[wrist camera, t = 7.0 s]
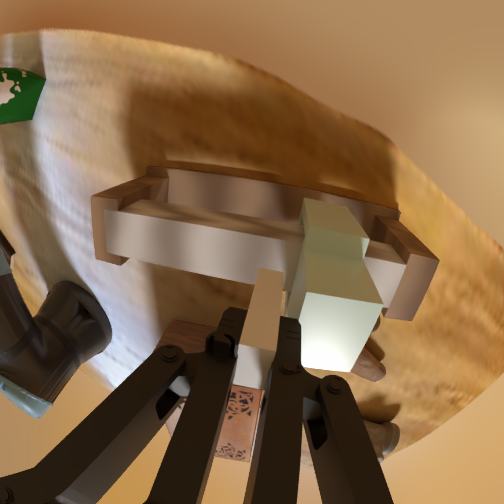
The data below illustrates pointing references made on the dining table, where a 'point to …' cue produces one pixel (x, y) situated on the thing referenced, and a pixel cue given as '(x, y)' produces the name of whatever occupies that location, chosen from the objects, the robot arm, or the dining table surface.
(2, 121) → the milk carton
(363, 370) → the pipe
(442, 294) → the dining table surface
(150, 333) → the dining table surface
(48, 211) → the dining table surface
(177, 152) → the dining table surface
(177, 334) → the tissue box cover
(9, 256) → the hardcover book
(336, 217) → the pale green slider block
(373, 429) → the pipe fitting
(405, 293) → the rail
